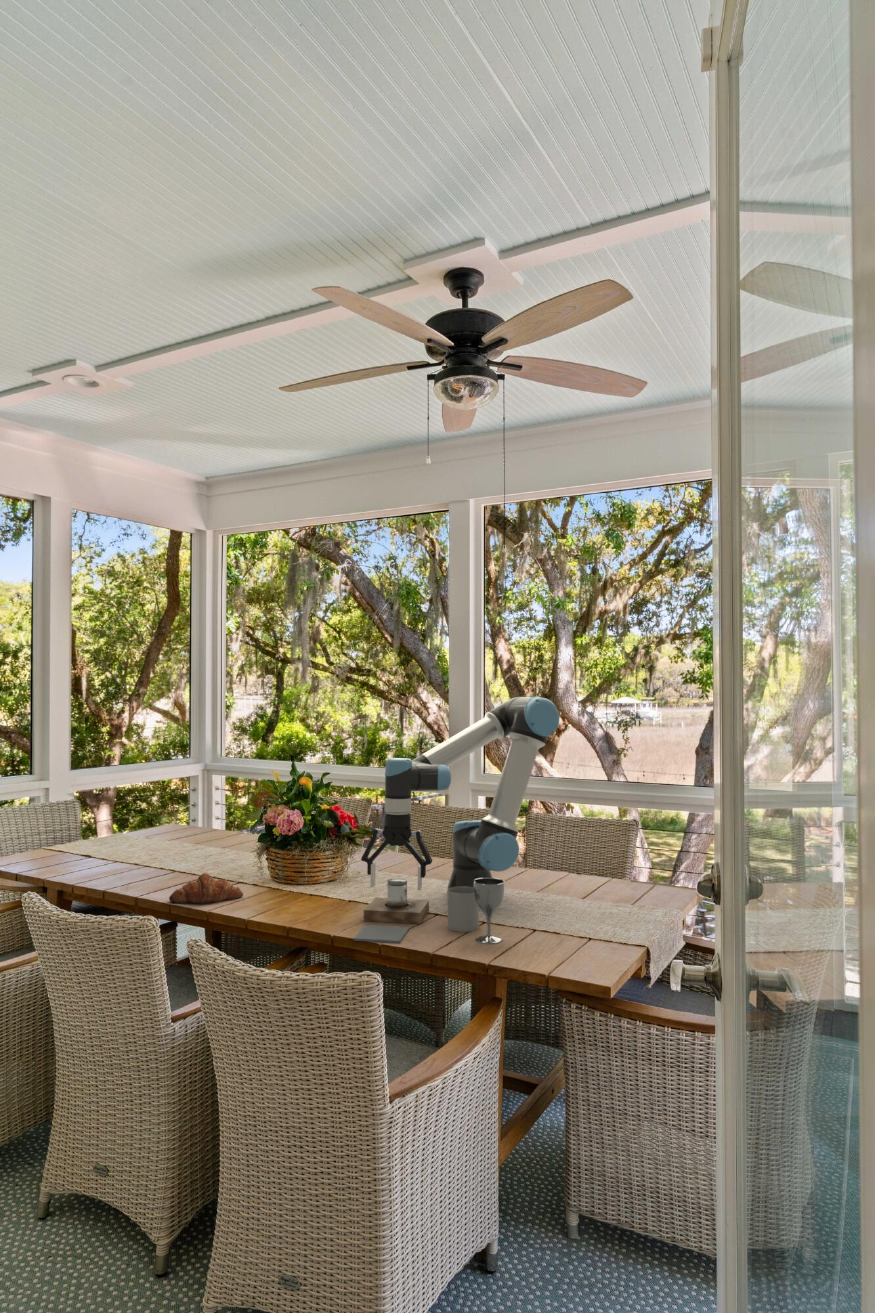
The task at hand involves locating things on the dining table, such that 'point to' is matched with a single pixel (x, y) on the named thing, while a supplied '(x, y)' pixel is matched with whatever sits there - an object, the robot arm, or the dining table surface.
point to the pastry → (205, 891)
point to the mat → (381, 934)
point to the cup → (462, 909)
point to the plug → (397, 893)
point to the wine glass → (489, 903)
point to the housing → (396, 911)
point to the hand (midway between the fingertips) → (396, 887)
